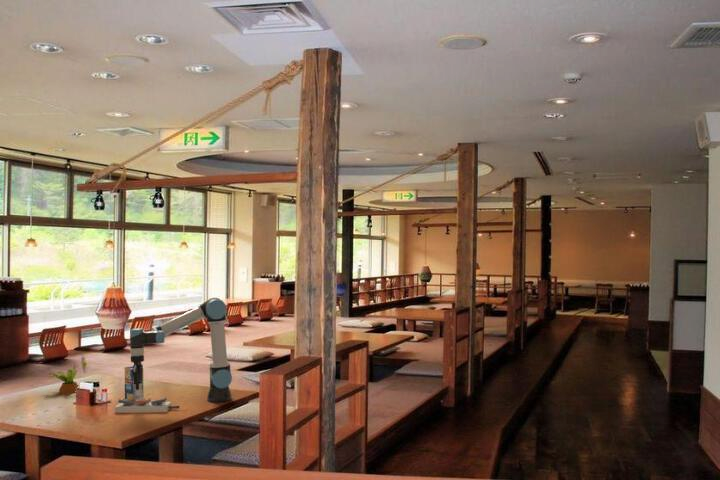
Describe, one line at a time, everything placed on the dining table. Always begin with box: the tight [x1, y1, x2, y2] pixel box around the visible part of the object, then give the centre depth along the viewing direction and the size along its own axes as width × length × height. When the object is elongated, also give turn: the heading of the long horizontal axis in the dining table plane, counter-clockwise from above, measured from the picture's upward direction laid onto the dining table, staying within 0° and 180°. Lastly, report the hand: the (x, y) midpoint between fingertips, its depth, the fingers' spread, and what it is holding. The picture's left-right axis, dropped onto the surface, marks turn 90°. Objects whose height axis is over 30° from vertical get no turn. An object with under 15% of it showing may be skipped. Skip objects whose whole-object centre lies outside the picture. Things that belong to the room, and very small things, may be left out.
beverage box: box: [124, 366, 144, 401], centre depth 416 cm, size 7×11×22 cm, turn 45°
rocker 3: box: [150, 397, 167, 405], centre depth 397 cm, size 8×4×2 cm, turn 91°
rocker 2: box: [135, 398, 152, 404], centre depth 397 cm, size 8×4×2 cm, turn 91°
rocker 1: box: [118, 397, 135, 405], centre depth 397 cm, size 8×4×2 cm, turn 91°
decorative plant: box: [48, 355, 88, 395], centre depth 452 cm, size 27×24×25 cm
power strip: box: [114, 401, 180, 414], centre depth 399 cm, size 36×11×4 cm, turn 91°
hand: (138, 394), depth 397 cm, fingers closed
